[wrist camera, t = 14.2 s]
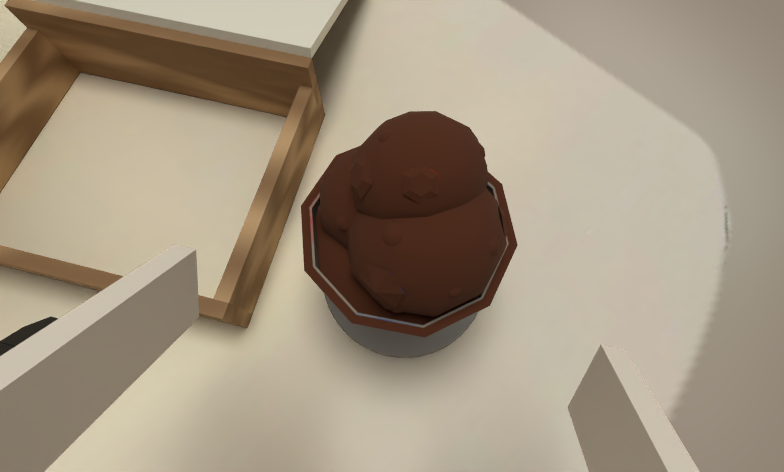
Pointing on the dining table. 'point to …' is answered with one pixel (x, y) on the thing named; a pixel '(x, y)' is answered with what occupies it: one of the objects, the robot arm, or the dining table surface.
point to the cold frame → (171, 73)
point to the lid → (229, 19)
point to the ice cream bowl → (409, 227)
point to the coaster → (399, 336)
